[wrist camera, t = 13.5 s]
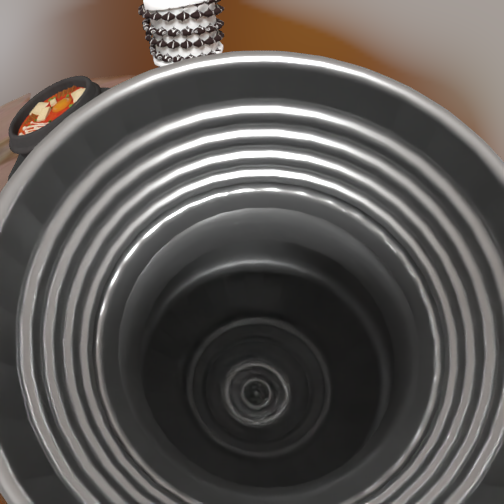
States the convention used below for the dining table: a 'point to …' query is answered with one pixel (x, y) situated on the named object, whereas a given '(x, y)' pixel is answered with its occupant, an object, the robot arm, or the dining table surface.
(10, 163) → the dining table surface
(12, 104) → the dining table surface
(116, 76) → the dining table surface
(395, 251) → the plastic bottle
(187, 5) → the black and white cylinder
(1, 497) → the robot arm
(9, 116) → the dining table surface
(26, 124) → the casserole
